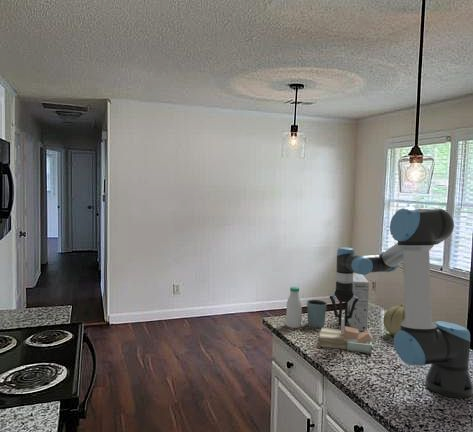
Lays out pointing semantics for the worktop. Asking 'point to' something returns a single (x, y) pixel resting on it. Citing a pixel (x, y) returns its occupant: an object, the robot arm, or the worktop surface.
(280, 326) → the worktop surface
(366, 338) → the tile
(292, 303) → the milk bottle
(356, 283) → the cereal box
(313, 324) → the grey-blue hollow tapered cylinder
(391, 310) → the cantaloupe
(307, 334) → the worktop surface
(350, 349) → the tray
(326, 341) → the board
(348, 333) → the tile
